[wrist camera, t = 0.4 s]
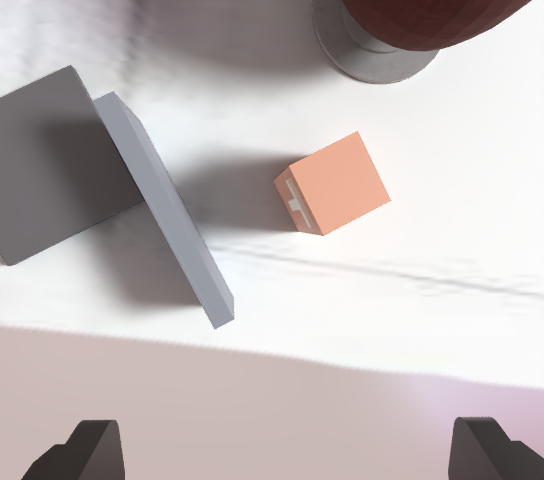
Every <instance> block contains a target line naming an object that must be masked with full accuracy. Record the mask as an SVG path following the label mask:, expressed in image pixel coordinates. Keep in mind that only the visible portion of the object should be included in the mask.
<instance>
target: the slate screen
mask: <svg viewBox="0 0 544 480" xmlns="http://www.w3.org/2000/svg"><path fill="white" fill-rule="evenodd" d="M92 102H93V104H94V106H95V107H96V109H97V111H98V113H99V115H100V117H101V119H102V121H103V122H104V124H105V126H106V128H107V130H108V132H109V134H110V135H111V137H112V139H113V141H114V143H115V145H116V147H117V148H118V150H119V152H120V154H121V156H122V158H123V160H124V161H125V163H126V165H127V167H128V169H129V171H130V173H131V175H132V176H133V178H134V180H135V182H136V184H137V186H138V188H139V189H140V191H141V193H142V195H143V197H144V199H145V201H146V202H147V204H148V206H149V208H150V210H151V212H152V214H153V216H154V217H155V219H156V221H157V223H158V225H159V227H160V229H161V230H162V232H163V234H164V236H165V238H166V240H167V242H168V243H169V245H170V247H171V249H172V251H173V253H174V255H175V257H176V258H177V260H178V262H179V264H180V266H181V268H182V270H183V271H184V273H185V275H186V277H187V279H188V281H189V283H190V284H191V286H192V288H193V290H194V292H195V294H196V296H197V298H198V299H199V301H200V303H201V305H202V307H203V309H204V311H205V312H206V314H207V316H208V318H209V320H210V322H211V324H212V325H213V327H214V329H217V328H218V327H220V326H222V325H224V324H226V323H228V322H230V321H232V320H234V297H233V295H232V294H231V292H230V290H229V288H228V286H227V284H226V282H225V280H224V278H223V277H222V275H221V273H220V271H219V269H218V267H217V265H216V263H215V261H214V259H213V258H212V256H211V254H210V252H209V250H208V248H207V246H206V244H205V242H204V241H203V239H202V237H201V235H200V233H199V231H198V229H197V227H196V225H195V223H194V222H193V220H192V218H191V216H190V214H189V212H188V210H187V208H186V206H185V205H184V203H183V201H182V199H181V197H180V195H179V193H178V191H177V189H176V187H175V186H174V184H173V182H172V180H171V178H170V176H169V174H168V172H167V170H166V169H165V167H164V165H163V163H162V161H161V159H160V157H159V155H158V153H157V152H156V150H155V148H154V146H153V144H152V142H151V140H150V138H149V136H148V134H147V133H146V131H145V129H144V127H143V125H142V123H141V121H140V120H139V119H138V118H137V117H136V116H135V115H134V113H133V112H132V111H131V110H130V109H129V108H128V107H127V106H126V105H125V104H124V102H123V101H122V100H121V99H120V98H119V97H118V96H117V95H116V94H115V92H114V91H113V92H111V93H108V94H106V95H104V96H102V97H100V98H98V99H96V100H94V101H92Z"/></svg>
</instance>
